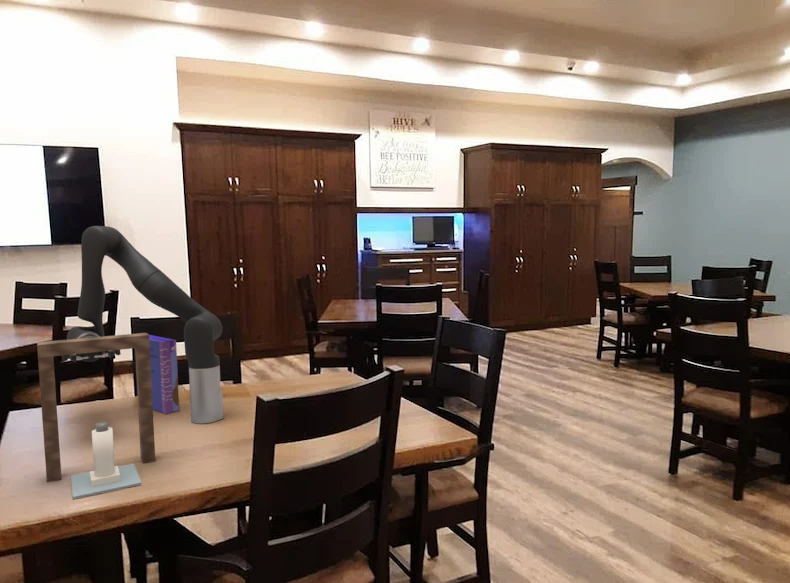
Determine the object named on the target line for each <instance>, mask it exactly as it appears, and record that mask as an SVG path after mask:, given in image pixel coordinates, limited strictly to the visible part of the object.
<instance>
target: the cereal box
mask: <svg viewBox="0 0 790 583" xmlns="http://www.w3.org/2000/svg"><path fill="white" fill-rule="evenodd" d="M149 342H150V362H151V382H152V402H153V411H155V412H157V411H158V413H161V414H163V415H169V414H172V413H173V414H174V413H177V412H179V411H180V399H179V398H180V396H179V380H178V379H179V377H178V376H179V375H178V358H177V357H178V356H177V355H178V354H177V340H176V339H172V338H167V337H163V336H158V335H157V336H156V335H152V334H149Z"/></svg>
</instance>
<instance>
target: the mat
mask: <svg viewBox="0 0 790 583" xmlns="http://www.w3.org/2000/svg"><path fill="white" fill-rule="evenodd" d="M117 466H118V469H119V473H120V481H117V482H113V483H108V484H103V485H98V486H93V487H92V486H91V480H90V471H89V472H83V473H78V474H73V475H72V474H71V476H70V481H71V482H70V483H71V491H72V492H71V494H72V500H77V499H76V498H78V499H82V498H81V497H83V498H86V497H85V496H88V497H91V496H90V495H92V496H96V495H95V494H97V495H100V494H99V493H102V494H105V493H104V492H106V493H109V492H110V493H111V492H115V490H116V491H120V490H125V489H130V488H134V487H138V485H139V486H142V485H141V484H142V480H141V477H140V474H139V472H138V469H137V467H136V464H135V463H129V464H124V465H117ZM129 487H130V488H129Z"/></svg>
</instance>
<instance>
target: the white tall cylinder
mask: <svg viewBox="0 0 790 583" xmlns="http://www.w3.org/2000/svg"><path fill="white" fill-rule="evenodd" d="M91 441H92V442H91V444H92V458H93V459H92V460H93V470H90V471H89V472H90V480H91V486H92V487H93V486H98V485H103V484H108V483H113V482H117V481H120V473H119V469H118V466H119V465H115V449H114V448H115V447H114V446H115V445H114V430H113V427H112V426H109V422H107V421H101V422H97V423H95V429H92V430H91Z"/></svg>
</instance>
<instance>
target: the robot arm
mask: <svg viewBox="0 0 790 583" xmlns="http://www.w3.org/2000/svg"><path fill="white" fill-rule="evenodd" d="M80 246H81V249H80V251H81V288H80V295H79V301H78V308H77V317H78V319H80V320H82V321H85V322H89V323H91V324H92V325H93V326H92V327H90V326H88V327H87V326H73V327H72V328H70V329H69V331H68V332H67V335H66V340H69V339H81V338H92V337H104V336H105V330H104V323H103V315H104V314H103V313H104V308H105V302H106V290H105V284H104V280H103V279H104V278H103V274H102V273H103V272H102V269H103V263H104V259H105V256H106V257H108V258H110V259H112V260H113V261H114V262H115V263H117V264H118V265H119V266H120V267H121V268H122V269H123V270H124V271H125V273H126V275H127V276H128V278H129V281H130V282H131V283H130V284H132V286H133V287H134V289H136V290H137V291H138V292H139V294H141V295H142V296H143V297H144V298H145V299H146V300H147V301H149V302H150V303H152V304H153V305H155V306H157V307H159V308H160V309H163V310H165V311H167V312H170V313H172V314H173V315H175V316H177V317H178V318H180V319H181V321H183V322H184V323H185V324H184V328H183V341H184V353H185V358H186V360H187V362H188V377H189V378H188V380H189V381H188V382H189V383H188V384H189V403H190V405H189V406H190V407H189V408H190V409H189V410H190V422H192V423H194V424H209V423H210V424H211V423H214V422H218V421H221V420H224V400H223V389H222V388H221V369H220V368H221V367H220V362H221V361H220V357H219V355H218V354H216V352H215V348H214V347H215V345H214V342H215V341H216V340H218V339H220V337H221V336H222V333H223V325H222V322H221V320H220V319H219V318H218V317H217V316H216V315H215V314H214V313H212V312H211V311H209V310H208V309H206V308H205V307H203V306H202V305H200V304H199V303H198V302H197V301H196V300H194V299H193V298H192V297H191V296H190V295H188V294H187V293H186V292H185V291H184V290H183V289H182V288H181V287H180V286H178V285H177V283H175V282H174V281H173V280H172V279H171V278H170V277H169V276H167V274H165V273H164V271H162V270H161V269H159V268H158V267H157V266H156V265H154V264H153V263H152V262H151V261H150V260H149V259H148V258H147V257H145V256H144V255H143V254H141V252H139V251H138V250H137V249H136V248H135V247H134V246H133V245H132V243H131V242H130V241H129V240H128V239H127V238H126V237H125V236H124V235H123V234H122V233H121V232H120V231H119V230H118V229H116V228H114V227H112V226H108V225H107V226H104V225H93V226H92V225H91V226H90V227H87V228H85V230H84V231H83V233H82V235H81V245H80ZM115 355H116V356H120V355H121V350H112V351H102V352H92V353H82V354H72V355H62V356H61V357H62V359H61V360H62V361H63V362H67V361H68V360H70V361H71V362H73V363H77V361H83V362H86V363H87V362H89V363H90V362H91V363H92V362H96V361H98V360H99V359H100V360H101V358H107V357H108V358H109V359H113V357H115Z"/></svg>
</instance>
